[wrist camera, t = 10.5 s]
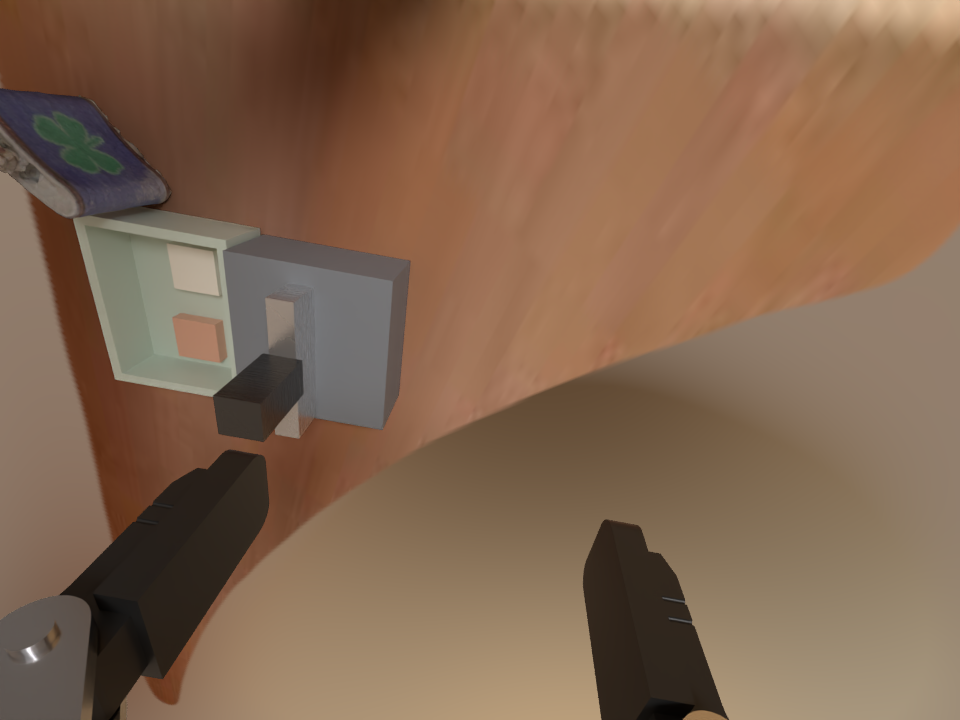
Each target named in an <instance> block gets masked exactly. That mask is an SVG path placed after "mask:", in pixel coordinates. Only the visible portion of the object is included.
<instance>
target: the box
mask: <svg viewBox="0 0 960 720" xmlns="http://www.w3.org/2000/svg"><path fill="white" fill-rule="evenodd" d="M73 221H74V225H75V229H76V232H77V236H78V240H79V244H80V248H81V251H82V255H83V259H84V263H85V267H86V270H87V274H88V278H89V282H90V285H91V289H92V293H93V297H94V301H95V304H96V308H97V312H98V316H99V320H100V323H101V327H102V331H103V335H104V339H105V342H106V346H107V350H108V354H109V357H110V361H111V365H112V369H113V373H114V376H115V380H121V381H127V382H132V383H138V384H143V385H149V386H154V387H160V388H166V389H171V390H177V391H182V392H188V393H193V394H199V395H205V396H210V397H213V395H214V394H215V393H217V392H218V391H219V390H220V389H221V388H223V387H224V386H225V385H226V384H227V383H228V382H230V381H231V380H232V379H233V378H234V377H235V376H237V374H236V365H235V356H234V347H233V339H232V330H231V321H230V312H229V303H228V295H227V286H226V277H225V268H224V259H223V251H222V250H225V249H228V248H230V247H233V246H235V245H238V244H240V243H243V242H246V241H248V240H251V239H253V238H256V237H258V236H260V228H257V227H251V226H246V225H240V224H235V223H229V222H224V221H218V220H213V219H207V218H202V217H196V216H190V215H185V214H179V213H174V212H168V211H163V210H157V209H152V208H146V207H141V206H139V207H134V208H127V209H123V210H118V211H112V212H105V213H99V214H94V215H89V216H84V217H79V218H74V219H73ZM173 241H176V242H182V243H187V244H193V245H199V246H204V247H210V248H215V249H217V256H218V264H219V272H220V281H221V289H222V295H220V296H216V295H210V294H204V293H198V292H193V291H187V290H181V289H175V288H174V283H173V277H172V272H171V266H170V260H169V255H168V249H167V244H166V243H169V242H173ZM180 313H185V314H191V315H197V316H202V317H208V318H214V319H220V320H223V326H224V334H225V341H226V349H227V358H226V359H225V360H223V361H222V362H221V363H218V362H212V361H206V360H200V359H195V358H189V357H183V356H179V352H178V347H177V342H176V336H175V331H174V326H173V320H172V317H174V316H176V315H178V314H180Z"/></svg>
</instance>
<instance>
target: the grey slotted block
mask: <svg viewBox="0 0 960 720" xmlns="http://www.w3.org/2000/svg"><path fill="white" fill-rule="evenodd" d="M222 251H223V259H224V268H225V277H226V286H227V295H228V303H229V312H230V321H231V330H232V339H233V347H234V356H235V365H236V374H237V375H238V374H239V373H240V372H241V371H243V370H244V369H245V368H246V367H247V366H248V365H250V364H251V363H252V362H253V361H254V360H255V359H257V358H258V357H259V356H260V355H261V354H263V353H264V354H269V343H268V329H267V316H266V303H265V298H266V297H267V296H269V295H270V294H272V293H273V292H275V291H276V290H278V289H280V288H281V287H283V286H284V285H286V284H287V283H293V284H298V285H304V286H309V287H314V304H315V354H316V405H317V415H316V416H315V418H318V419H324V420H329V421H335V422H340V423H346V424H352V425H357V426H363V427H368V428H374V429H379V430H383V428H384V426H385V424H386V421H387V419H388V417H389V415H390V413H391V411H392V408H393V406H394V404H395V402H396V400H397V398H398V396H399V386H400V375H401V364H402V352H403V341H404V329H405V318H406V306H407V295H408V283H409V272H410V261H408V260H403V259H397V258H391V257H386V256H380V255H375V254H369V253H364V252H358V251H353V250H347V249H342V248H336V247H331V246H325V245H319V244H314V243H308V242H303V241H297V240H292V239H286V238H281V237H275V236H270V235H261V236H258V237H256V238H253V239H251V240H248V241H246V242H243V243H240V244H238V245H235V246H233V247H230V248H228V249H225V250H222Z"/></svg>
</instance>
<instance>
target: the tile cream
mask: <svg viewBox="0 0 960 720" xmlns="http://www.w3.org/2000/svg"><path fill="white" fill-rule="evenodd" d="M166 244H167V249H168V255H169V260H170V266H171V272H172V277H173V283H174V288H175V289H181V290H187V291H193V292H198V293H204V294H210V295H216V296H220V295H222V289H221V281H220V272H219V264H218V256H217V249H215V248H210V247H204V246H199V245H193V244H187V243H182V242H176V241H173V242H169V243H166Z"/></svg>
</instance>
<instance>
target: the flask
mask: <svg viewBox="0 0 960 720" xmlns="http://www.w3.org/2000/svg"><path fill="white" fill-rule="evenodd" d="M0 171H2V172H4V173H8V174H9V175H10V176H11V177H13V178H14V179H15V180H16V181H17V182H19V183H20V184H21V185H22V186H23V187H24V188H25V189H26V190H28V191H29V192H30V193H32V194H33V195H34V196H36V197H37V198H38V199H39V200H41V201H42V202H43V203H44V204H45V205H47V206H48V207H49V208H51V209H53V210H54V211H55V212H56V213H58V214H59V215H61V216H63V217H66V218H69V219H74V218H79V217H84V216H89V215H94V214H99V213H105V212H112V211H118V210H123V209H127V208H134V207H139V206H144V205H151V204H160V203H163V202H164V201H166V200H167V199H168V198H169V196H170V194H171V191H170V189H169V187H168V185H167V183H166V181H165V179H164V178H163V177H162V175H161V174H160V172H158V170H154V169H153V168H152V167H151V166H150V164H149V163H148V162H146V159H144V157H143V155H142V154H141V153H140V152H139V150H138V148H136V147H135V146H134V145H133V144H132V143H130V142H128V141H127V140H125V139H123V137H121V135H120V130H118V129H117V128H115V127H113V126H112V125H111V124H110V123H109V120H108V118H107V116H105V114H103V112H101V110H100V109H99V108H98V106H97V105H96V104H95V102H94V101H92V100H90V99H88V98H84V97H81V96H80V95H79V97H75V96H65V95H54V94H45V93H40V92H29V91H15V90H8V89H0Z"/></svg>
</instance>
